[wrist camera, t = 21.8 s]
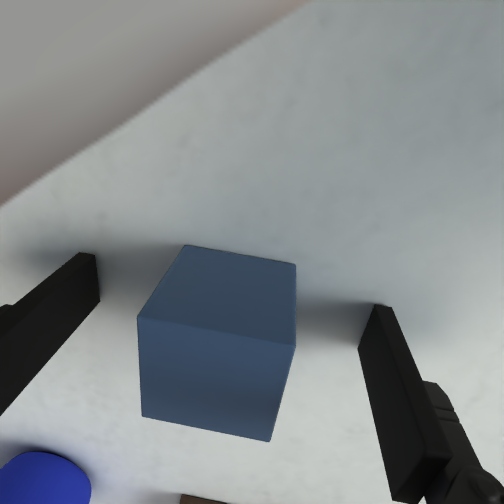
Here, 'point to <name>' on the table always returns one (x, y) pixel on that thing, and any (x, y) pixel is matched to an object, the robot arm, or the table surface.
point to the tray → (195, 500)
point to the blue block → (218, 342)
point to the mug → (43, 481)
